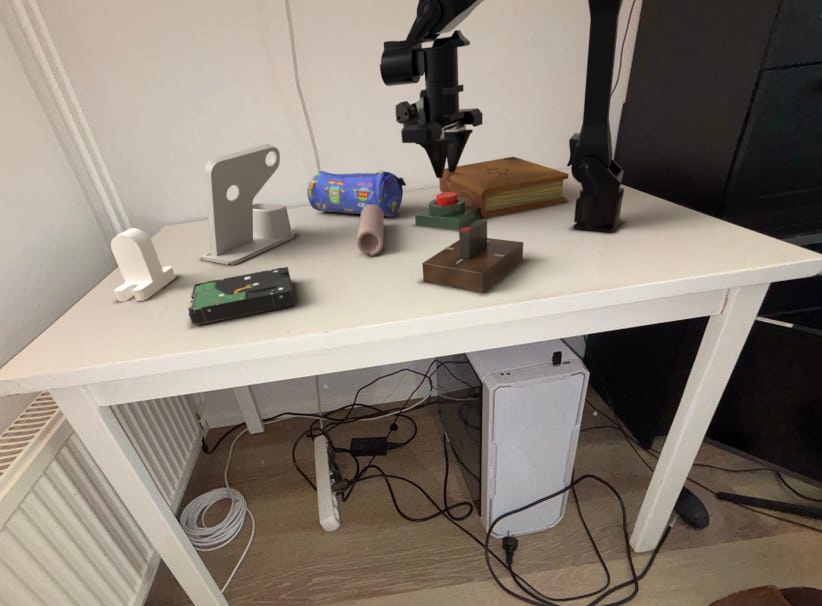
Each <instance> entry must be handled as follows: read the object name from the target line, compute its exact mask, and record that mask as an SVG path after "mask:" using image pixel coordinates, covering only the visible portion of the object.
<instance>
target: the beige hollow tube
mask: <svg viewBox="0 0 822 606" xmlns="http://www.w3.org/2000/svg"><path fill="white" fill-rule="evenodd" d="M384 218H385V216H384V214H383V211H382V209H381V208H380V207H379V206H377V205H374V204H370V205H367V206H365V207H364V208H363V209H362V212H361V214H360V217H359V223H358V229H357V234H356V235H357V236H356V246H357V248H358V250H359V251H360V252H361V253H363V254H366V255H369V256H370V257H374V256H376V255H378V254H379V253H380V252H381V251H382V249H383V247H384V226H385V225H384V222H385V219H384Z"/></svg>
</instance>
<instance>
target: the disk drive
mask: <svg viewBox="0 0 822 606" xmlns="http://www.w3.org/2000/svg"><path fill="white" fill-rule="evenodd" d="M190 298H191V299H190V301H189V306H188V307H187V310H188V317H189V319H190V321H191V324H192V325H201V324H208V323H213V322H217V321H223V320H228V319H232V318H237V317H242V316H246V315H247V316H248V315H252V314H257V313H262V312H268V311H272V310H277V309H282V308H286V307H289V306H291V305H292V306H293V305H295V297H294V292H293V286H292V280H291V276H290V271H289V267H288V266H284V267H278V268H273V269H268V270H262V271H256V272H251V273H247V274H242V275H235V276H230V277H224V278H219V279H214V280H208V281H205V282H204V281H203V282H199V283H194V285H193V289H192V292H191V295H190Z"/></svg>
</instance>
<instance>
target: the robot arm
mask: <svg viewBox="0 0 822 606" xmlns="http://www.w3.org/2000/svg"><path fill="white" fill-rule="evenodd" d="M484 1H485V0H418V2H417V7H416V17H415V19H414V21H413V23H412V25H411V27H410V30H409V32H408V34H407V36H406V38H405V40H403V39H402V40H388V41H387V40H386V41H384V42H383V51H382V54H381V57H380V64H379V72H380V77H381V79H382V82H383V84H384V85H385V86H387V87H392V86H403V85H413V84H418V83H419V82H420V80H421V77H423V76H424V82H425V83H424V84H425V85H424V86H425V89H421V90H420V92H419V100H418V101H416V102H413V103H410V102H408V100H405V101H401V102H399V103H397V104H396V105H395V121H396V122H397V123H398V124H400V125H401V124H402V126H403V127H402V128H401V130H400V135H401V143H402V144H415V145H419V146H420V147H421V148H423V150H425V152H426V154H427V157H428V159H429V161H430V164H431V167H432V170H433V172H434V175H435V177H436V178H437V179H439V178H442V177H443V173H444V169H446V163H447V168H448V169H449V172H452V173H453V172H455V170H456V167H457V166H459V162H460V159H461V157H462V154H463V152H464V150H465V148H466V145H467V143H468V141H469V139H470V136H471V134H472V133H474V129H467V126H472V127H473V128H474V127H478V126H479V127H480V126H482V125H483V112H482V111H481V110H480V109H479V108H460V93H462V92H464V84H459V83H460V82H459V56H458V55H459V52H458V48H463V47H469V46H470V45H471V41H470V40H469V39H468V38H467V37H466V36H465V35H464V34H463V32H462V31H461V29H455V28H457V27H458V26H459V25H460V24H461V23H462V22H463V21H465V20H466V19H467V18H468V17H469V16H470V15H471V13H472V12H473V11H474V10H475V9H476V8H477V7H478V6H479V5H481V3H483V2H484ZM587 2H588V9H589V10H588V11H589V18H590V23H589V35H588V49H587V60H586V61H587V62H586V72H585V73H586V75H585V88H584V101H583V113H582V114H583V115H582V124H581V128H580V132H574V133H573V134H572V135H571V137H570V138H569V139H568V146H569V158H568V159H569V160H568V162H567V164H566V167H570V166H571V167H570V172H571V175H572V178H573V179H575V180H576V182H577V183H579V184H581V189H580V190H579V197H578V198H576V199H575V207H574V218H573V222H574V224H573V226H572V229H574V230H583V231H594V232H604V233H612V232H613V231H614V230H616V228H617V227H619V225H620V224H621V223H622V222H623V218H621V214H622V213H621V212H622V211H621V210H622V206H623V205H622V204H623V198H624V191H625V187H621V185H622V181H623V177H624V174H625V170H624V169H623V168H622V166H620V165H619V164H618V163H617V162H616V161H615V160H614V159H613V156H614V155H613V143H612V141H613V140H612V133H611V124H610V110H611V109H610V108H611V99H612V87H613V81H614V70H615V61H616V60H615V59H616V50H617V49H616V48H617V39H618V29H619V20H620V19H619V18H620V13H621V9H622V6H623V2H624V0H587ZM454 29H455V30H454ZM453 30H454V31H453ZM452 31H453V33H452V34H451V36H443V37H440V36H441V35H442V34H448V33H451V32H452ZM427 43H432V45H431V46H430V47H423V44H427Z"/></svg>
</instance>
